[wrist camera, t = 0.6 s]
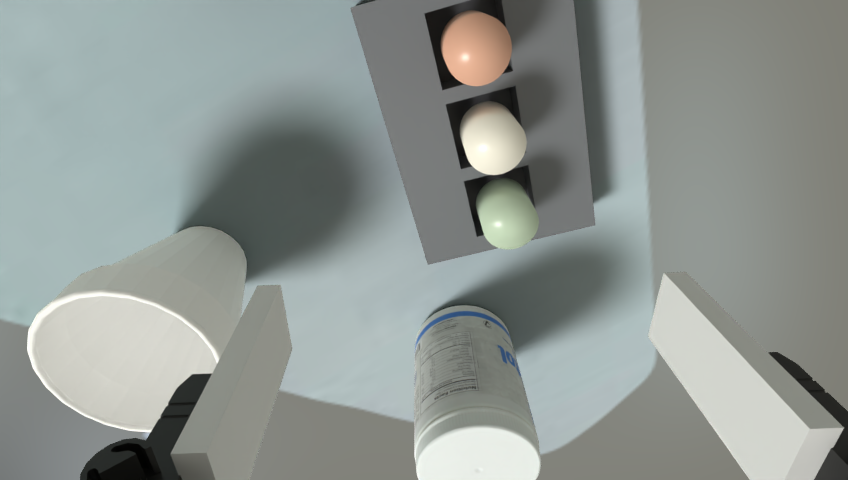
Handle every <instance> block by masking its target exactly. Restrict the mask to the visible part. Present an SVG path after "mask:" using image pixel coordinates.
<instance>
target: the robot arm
mask: <svg viewBox="0 0 848 480" xmlns="http://www.w3.org/2000/svg"><path fill="white" fill-rule="evenodd" d="M648 337H649V339H650V340H651V341H652V343H653V344H654V346H655V347H656V348H657V350H658V351H659V353H660V354H661V355H662V357H663V358H664V360H665V361H666V362H667V364H668V365H669V367H670V368H671V369H672V371H673V372H674V374H675V375H676V377H677V378H678V379H679V381H680V382H681V384H682V385H683V386H684V388H685V389H686V391H687V392H688V393H689V395H690V396H691V398H692V399H693V400H694V402H695V403H696V405H697V406H698V407H699V409H700V410H701V412H702V413H703V415H704V416H705V417H706V419H707V420H708V421H709V423H710V424H711V426H712V427H713V428H714V430H715V431H716V433H717V434H718V436H719V437H720V438H721V440H722V441H723V443H724V444H725V445H726V447H727V448H728V450H729V451H730V452H731V454H732V455H733V457H734V458H735V460H736V461H737V462H738V464H739V465H740V466H741V468H742V469H743V471H744V472H745V474H746V475H747V476H748V478H749V479H750V480H848V411H847V410H846V409H845V408H843V407H842V406H841V405H840V404H839V403H838V402H837V401H836V400H835V399H834V398H833V397H832V396H831V395H830V394H829V393H825V391H824V389H823V388H822V387H821V386H820V385H819V384H818V383H817V382H816V381H813V380H812V377H810V376H809V375H808V374H807V373H806V372H805V371H804V370H803V369H802V368H801V367H800V366H799V365H797V364H796V363H795V362H793V361H791V360H790V359H788V358H786V357H785V356H783V355H781V354H780V353H778V352H769V353H768V352H767V351H766V350H765V349H764V348H763V347H762V346H761V345H760V344H759V343H757V341H755V339H754V338H753V337H751V336H750V335H749V334H748V333H747V332H746V331H745V330H744V329H743V328H742V327H741V326H740V325H739V324H738V323H737V322H736V321H735V320H734V319H733V318H732V317H731V316H730V315H729V314H728V313H727V312H726V311H725V310H724V309H723V308H722V307H721V306H720V305H719V304H718V303H717V302H716V301H715V300H714V299H713V298H712V297H711V296H710V295H709V294H708V293H707V292H706V291H705V290H704V289H703V288H702V287H701V286H700V285H699V284H698V283H697V282H696V281H694V279H693V278H691V276H690V275H688V274H687V273H686V272H667V273H664V274H663V278H662V282H661V286H660V290H659V294H658V298H657V302H656V306H655V310H654V314H653V318H652V322H651V326H650V330H649V334H648ZM291 351H292V345H291V339H290V334H289V329H288V323H287V318H286V312H285V307H284V301H283V296H282V291H281V285H262V286H257V288H256V290H255V292H254V294H253V296H252V298H251V299H250V301H249V303H248V305H247V307H246V309H245V311H244V313H243V315H242V317H241V319H240V321H239V323H238V325H237V326H236V328H235V330H234V332H233V334H232V336H231V338H230V340H229V342H228V344H227V346H226V348H225V350H224V352H223V353H222V355H221V357H220V359H219V361H218V363H217V365H216V367H215V369H214V371H213V373H211V374H192V375H191V376H190V377H189V378H187V379H186V380H185V381H184V382H183V383H182V384H181V385H180V386H178V387H177V389H176V390H175V392H174V394H173V395H172V397H171V399H170V401H169V402H168V406H166V407H165V409H164V411H163V412H162V414H161V418H160V419H158V421H157V423H156V424H155V426H154V428H153V429H152V431H151V433H150V434H149V436H148V438H147V440H146V441H145V440H142V439H137V438H133V439H124V440H121V441H118V442H116V443H113V444H110V445H109V446H107V447H105V448H104V449H103V450H101V451H99V452H98V453H96V454H95V455H94V456H93V457H92V458H91V459H90V461H88V462H87V463H86V465H85V467H84V469H83V470H82V472H81V474H80V475H81V476H80V480H249V479H250V476H251V473H252V470H253V467H254V464H255V461H256V458H257V455H258V452H259V449H260V446H261V443H262V440H263V436H264V434H265V431H266V427H267V424H268V421H269V418H270V415H271V412H272V409H273V406H274V403H275V400H276V397H277V394H278V391H279V388H280V385H281V382H282V379H283V376H284V372H285V369H286V366H287V363H288V360H289V357H290V354H291Z"/></svg>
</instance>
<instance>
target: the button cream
mask: <svg viewBox="0 0 848 480" xmlns="http://www.w3.org/2000/svg"><path fill="white" fill-rule="evenodd" d="M460 137H461V140H462V144H463V147H464V150H465V153H466V156H467V158H468V161H469V162H470V164H471V165H472V166H473V167H474V168H475V169H476V170H478V171H479V172H481V173H484V174H488V175H499V174H503V173H506V172H508V171H510V170H512V169H513V168H514V167H516V166H517V165H518V163H519V162H520V161H521V159H522V158H523V156H524V154H525V151H526V144H527V141H526V135H525V132H524V130H523V128H522V127H521V125H520V124H519V123H518V122H517V120H516V119H515V118H514V116H513V115H512V114H511V112H510V111H509V110H508V109H507V108H506V107H505V106H503V105H502V104H500V103H497V102H493V101H485V102H481V103H478V104H476V105H474V106H473V107H471V108H470V109H469V110H468V111H467V112H466V113H465V115H464V116H463V118H462V120H461V124H460Z"/></svg>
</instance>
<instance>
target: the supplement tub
mask: <svg viewBox="0 0 848 480" xmlns="http://www.w3.org/2000/svg"><path fill="white" fill-rule="evenodd" d="M414 445H415V447H414V456H415V461H416V470H417V476H418V479H419V480H536V478H537V477H538V475H539V472H540V468H541V457H540V452H539V441H538V438H537V433H536V430H535V425H534V422H533V418H532V414H531V411H530V407H529V403H528V400H527V396H526V392H525V388H524V385H523V381H522V378H521V374H520V370H519V367H518V363H517V359H516V356H515V352H514V348H513V345H512V341H511V338H510V334H509V331H508V329H507V327H506V326H505V324H504V323H503V322H502V321H501V320H500V319H499V318H498V317H497V316H496V315H494V314H493V313H491V312H490V311H488V310H486V309H483V308H480V307H476V306H469V305H459V306H453V307H448V308H445V309H443V310H440V311H438V312H437V313H435V314H433V315H432V316H431V317H429V318H428V319H427V320H426V321H425V322H424V323H423V325H422V326H421V328H420V329H419V331H418V334H417V336H416V341H415V403H414Z"/></svg>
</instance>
